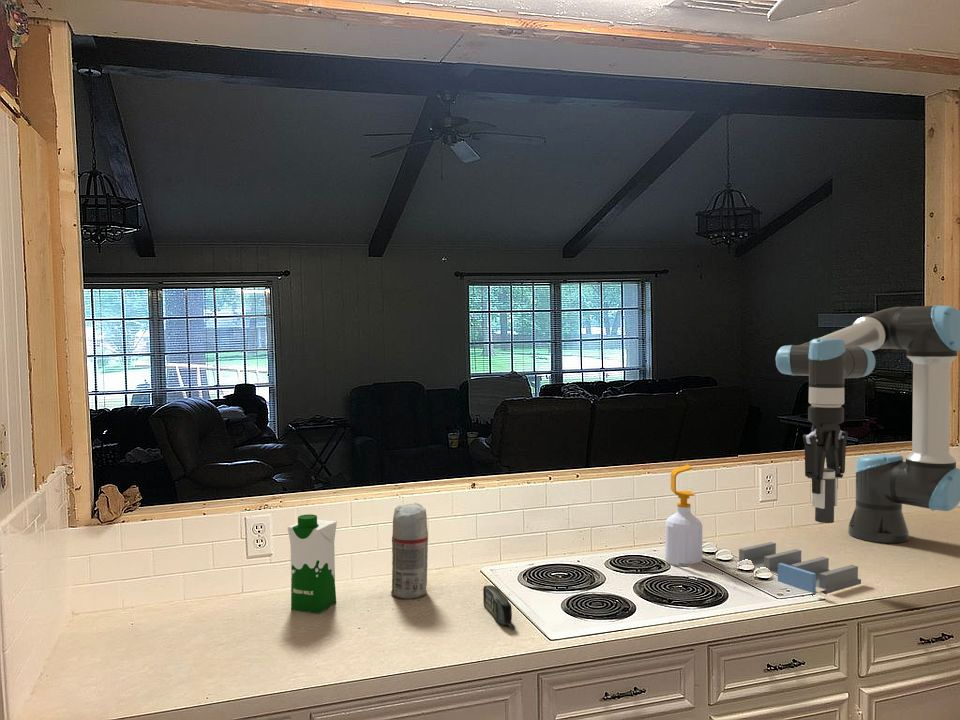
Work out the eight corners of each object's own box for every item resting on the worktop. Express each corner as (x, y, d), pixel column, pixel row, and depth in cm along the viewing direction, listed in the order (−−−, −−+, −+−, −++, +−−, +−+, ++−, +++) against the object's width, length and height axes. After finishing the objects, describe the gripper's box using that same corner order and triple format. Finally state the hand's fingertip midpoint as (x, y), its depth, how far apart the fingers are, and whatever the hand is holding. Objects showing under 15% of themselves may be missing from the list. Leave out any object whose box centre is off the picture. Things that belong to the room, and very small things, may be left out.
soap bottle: (706, 567, 189) (706, 469, 188) (669, 567, 189) (669, 469, 188) (696, 556, 198) (697, 462, 197) (661, 556, 198) (661, 462, 197)
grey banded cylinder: (822, 517, 180) (822, 467, 179) (838, 521, 176) (839, 470, 176) (810, 520, 178) (811, 469, 177) (826, 524, 174) (827, 471, 173)
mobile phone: (480, 584, 164) (503, 606, 150) (493, 582, 165) (518, 604, 151) (481, 607, 164) (504, 631, 150) (494, 605, 165) (518, 629, 151)
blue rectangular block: (780, 584, 176) (781, 562, 176) (815, 595, 169) (815, 573, 169) (777, 585, 176) (777, 563, 176) (812, 596, 168) (812, 574, 168)
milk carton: (284, 610, 162) (283, 517, 161) (307, 596, 171) (306, 508, 170) (321, 615, 159) (319, 520, 158) (342, 601, 168) (341, 510, 167)
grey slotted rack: (770, 556, 198) (770, 541, 198) (861, 583, 176) (861, 566, 176) (736, 564, 191) (736, 548, 191) (825, 594, 170) (826, 576, 170)
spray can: (435, 590, 174) (434, 503, 173) (417, 602, 167) (416, 511, 166) (403, 585, 178) (402, 500, 177) (384, 596, 170) (383, 507, 169)
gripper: (834, 402, 183) (832, 498, 184) (788, 406, 175) (786, 507, 176) (863, 404, 177) (862, 504, 178) (817, 409, 168) (815, 514, 169)
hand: (824, 505), depth 177 cm, fingers closed on grey banded cylinder, 4 cm apart
